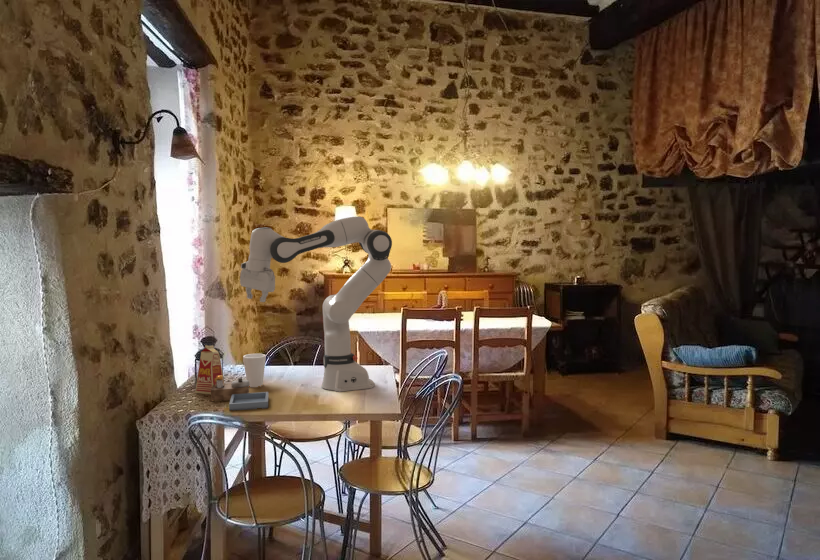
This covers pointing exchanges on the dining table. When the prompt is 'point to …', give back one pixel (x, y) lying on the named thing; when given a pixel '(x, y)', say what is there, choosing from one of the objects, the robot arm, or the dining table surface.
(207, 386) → the milk carton
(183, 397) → the dining table surface
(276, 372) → the dining table surface
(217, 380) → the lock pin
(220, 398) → the tensioner block
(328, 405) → the dining table surface
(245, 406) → the dish
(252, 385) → the foam cup
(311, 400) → the dining table surface
